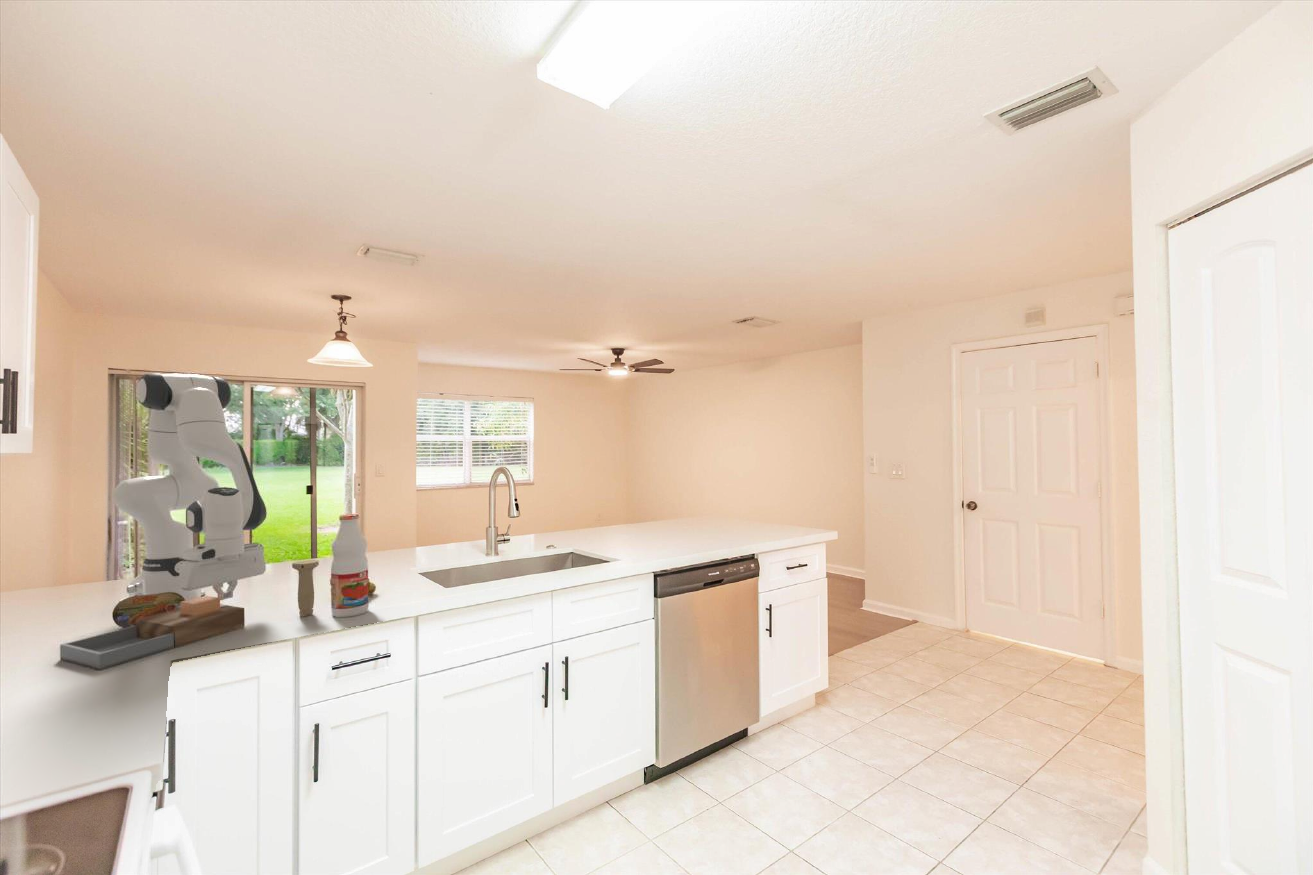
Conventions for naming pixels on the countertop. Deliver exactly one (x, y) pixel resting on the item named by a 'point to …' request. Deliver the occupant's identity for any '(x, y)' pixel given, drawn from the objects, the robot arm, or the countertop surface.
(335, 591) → the fruit juice
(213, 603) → the terracotta block
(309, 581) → the handle
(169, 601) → the tin
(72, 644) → the box
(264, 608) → the countertop surface
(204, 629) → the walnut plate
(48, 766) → the countertop surface
